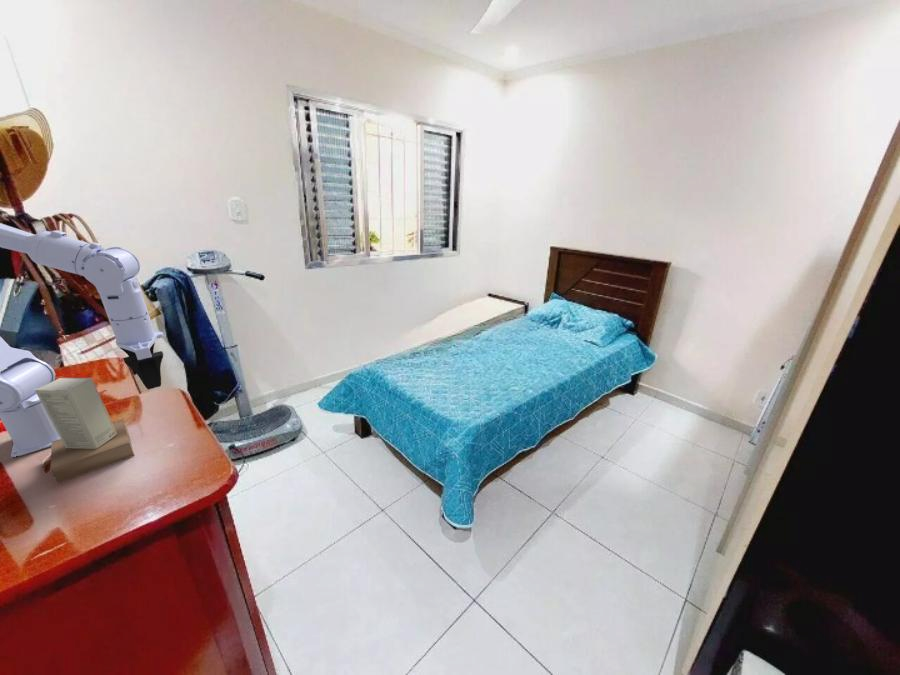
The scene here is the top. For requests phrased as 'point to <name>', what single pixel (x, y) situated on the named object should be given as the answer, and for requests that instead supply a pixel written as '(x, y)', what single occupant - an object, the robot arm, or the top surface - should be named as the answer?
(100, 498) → the top surface
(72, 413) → the skincare box
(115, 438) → the block
